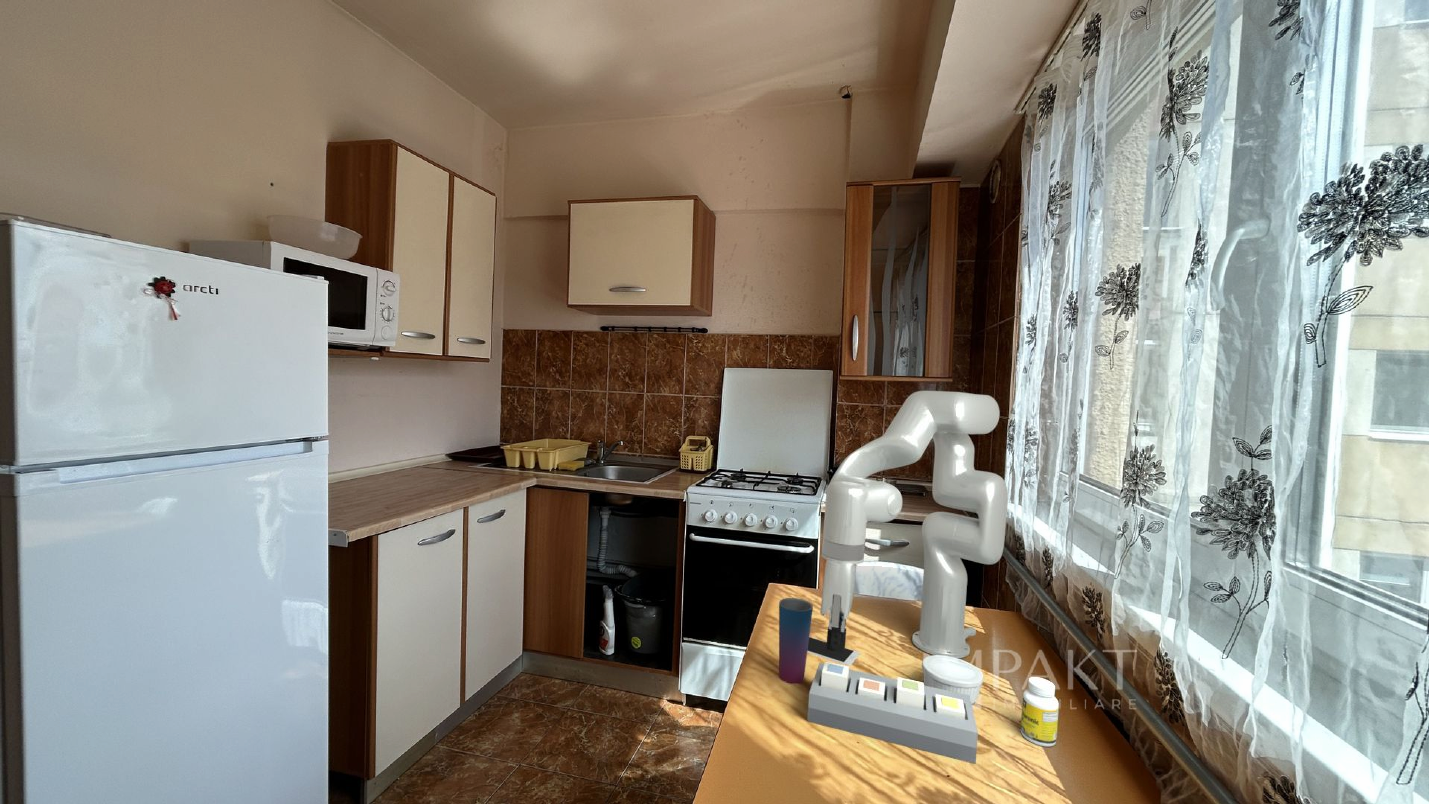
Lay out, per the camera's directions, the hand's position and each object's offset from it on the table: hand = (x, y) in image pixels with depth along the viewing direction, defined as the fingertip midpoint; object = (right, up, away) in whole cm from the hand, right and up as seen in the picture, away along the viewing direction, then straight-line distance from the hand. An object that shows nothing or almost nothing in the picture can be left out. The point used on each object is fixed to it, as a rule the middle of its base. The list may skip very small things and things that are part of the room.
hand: (835, 649), depth 101 cm
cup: (-7, -11, +11) cm, 17 cm away
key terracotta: (+6, -9, -2) cm, 11 cm away
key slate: (0, -7, +1) cm, 7 cm away
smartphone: (+3, -11, +24) cm, 27 cm away
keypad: (+9, -12, -3) cm, 15 cm away
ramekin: (+25, -13, +8) cm, 29 cm away
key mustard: (+18, -10, -6) cm, 21 cm away
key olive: (+12, -8, -4) cm, 15 cm away
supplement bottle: (+34, -14, -5) cm, 37 cm away
